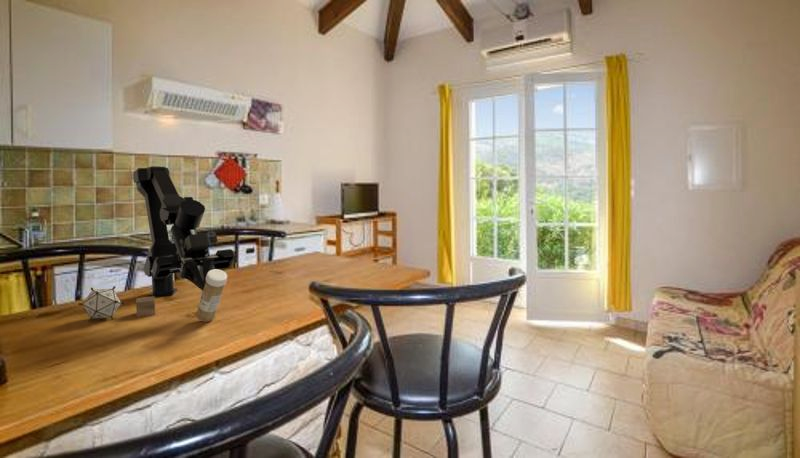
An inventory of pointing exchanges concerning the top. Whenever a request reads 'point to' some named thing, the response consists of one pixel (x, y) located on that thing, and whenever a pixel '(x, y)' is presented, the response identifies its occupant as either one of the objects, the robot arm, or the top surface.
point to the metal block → (145, 306)
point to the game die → (101, 303)
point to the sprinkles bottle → (211, 295)
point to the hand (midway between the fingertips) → (205, 290)
